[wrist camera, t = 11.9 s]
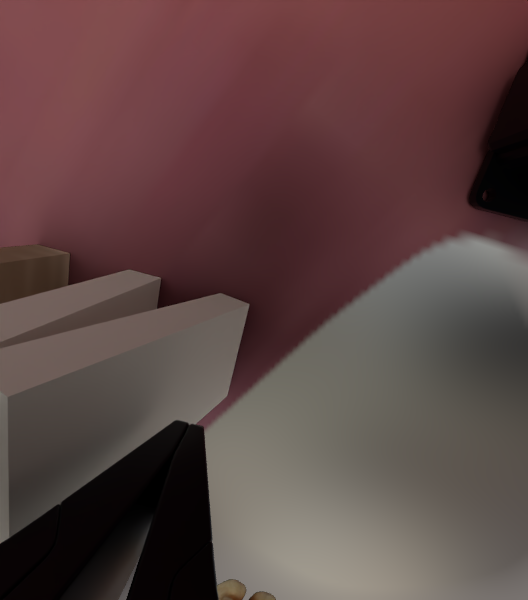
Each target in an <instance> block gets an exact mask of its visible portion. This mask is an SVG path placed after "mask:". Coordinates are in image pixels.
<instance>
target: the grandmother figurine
mask: <svg viewBox="0 0 528 600" xmlns="http://www.w3.org/2000/svg"><path fill="white" fill-rule="evenodd" d="M217 591H218V597H219V600H242V599H243V597H244V596H245V593H246V587H245V585H244V584H242V583H241V582H239V581H237V580H233V579H230V580H227V581H224V582H223V583H221V584H219V585H217ZM249 600H276V599H275V597H274V596H273V595H271V594H269V593H267V592H256V593H255V594H254V595H253V596H252V597H251V598H250V599H249Z"/></svg>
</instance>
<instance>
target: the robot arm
mask: <svg viewBox="0 0 528 600" xmlns="http://www.w3.org/2000/svg"><path fill="white" fill-rule="evenodd" d="M488 147H489V151H488V153H487V155H486V158H485V160H484V162H483V165H482V167H481V169H480V172H479V174H478V177H477V179H476V181H475V184H474V186H473V188H472V191H471V193H470V197H469V199H470V204H471V205H472V206H473V207H474V208H476V209H479V210H483V211H487V212H491V213H495V214H499V215H503V216H507V217H511V218H514V219H518V220H522V221H526V222H528V59H527V61H526V64H525V65H524V66H522V67H521V68H520V69H519V70H518V72H517V75H516V77H515V79H514V82H513V84H512V87H511V89H510V91H509V94H508V96H507V98H506V101H505V103H504V106H503V108H502V110H501V113H500V115H499V117H498V120H497V122H496V124H495V127H494V129H493V132H492V134H491V136H490V139H489V141H488ZM485 190H487V191H488V192H489V198H488V199H487V201H484V200H483V198H482V197H483V193H484V192H485ZM205 450H206V449H205V436H204V427H203V426H200V425H196V424H190V425H189V423H188V422H184V421H180V420H175V421H173V422H172V423H171V424H169V425H168V426H166V427H165V428H164V429H162V430H161V431H159V432H158V433H157V434H155V435H154V436H152V437H151V438H150V439H148V440H147V441H145V442H144V443H143V444H141V445H140V446H138V447H137V448H136V449H134V450H133V451H131V452H130V453H129V454H127V455H126V456H124V457H123V458H122V459H120V460H119V461H117V462H116V463H115V464H113V465H112V466H110V467H109V468H108V469H106V470H105V471H103V472H102V473H101V474H99V475H98V476H96V477H95V478H94V479H92V480H91V481H89V482H88V483H87V484H85V485H84V486H82V487H81V488H80V489H78V490H77V491H75V492H74V493H73V494H71V495H70V496H68V497H67V498H66V499H64V500H63V501H62V502H61V505H60V504H57V505H56V506H54V507H53V508H51V509H50V510H49V511H47V512H46V513H44V514H43V515H42V516H40V517H39V518H37V519H36V520H34V521H33V522H32V523H30V524H29V525H27V526H26V527H24V528H23V529H21V530H20V531H18V532H17V533H15V534H14V535H13V536H11V537H10V538H8V539H6V540H5V541H3V542H2V543H0V600H118V599H119V597H120V595H121V593H122V591H123V589H124V587H125V585H126V583H127V581H128V579H129V577H130V575H131V573H132V571H133V569H134V567H135V565H136V563H137V560H138V558H139V556H140V559H139V562H138V565H137V568H136V572H135V574H134V577H133V581H132V584H131V587H130V590H129V593H128V596H127V599H126V600H219V597H218V591H217V582H216V574H215V564H214V552H213V543H212V528H211V516H210V502H209V490H208V477H207V463H206V451H205ZM140 554H141V555H140Z"/></svg>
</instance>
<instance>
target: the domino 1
mask: <svg viewBox="0 0 528 600" xmlns="http://www.w3.org/2000/svg"><path fill="white" fill-rule="evenodd" d="M69 262H70V253H67V252H63V251H60V250H56V249H52V248H49V247H45V246H41V245H26V246H15V247H3V248H0V304H2V303H6V302H9V301H13V300H17V299H21V298H24V297H28V296H32V295H36V294H39V293H43V292H47V291H51V290H54V289H58V288H62V287H65V286H68V278H69Z"/></svg>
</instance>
